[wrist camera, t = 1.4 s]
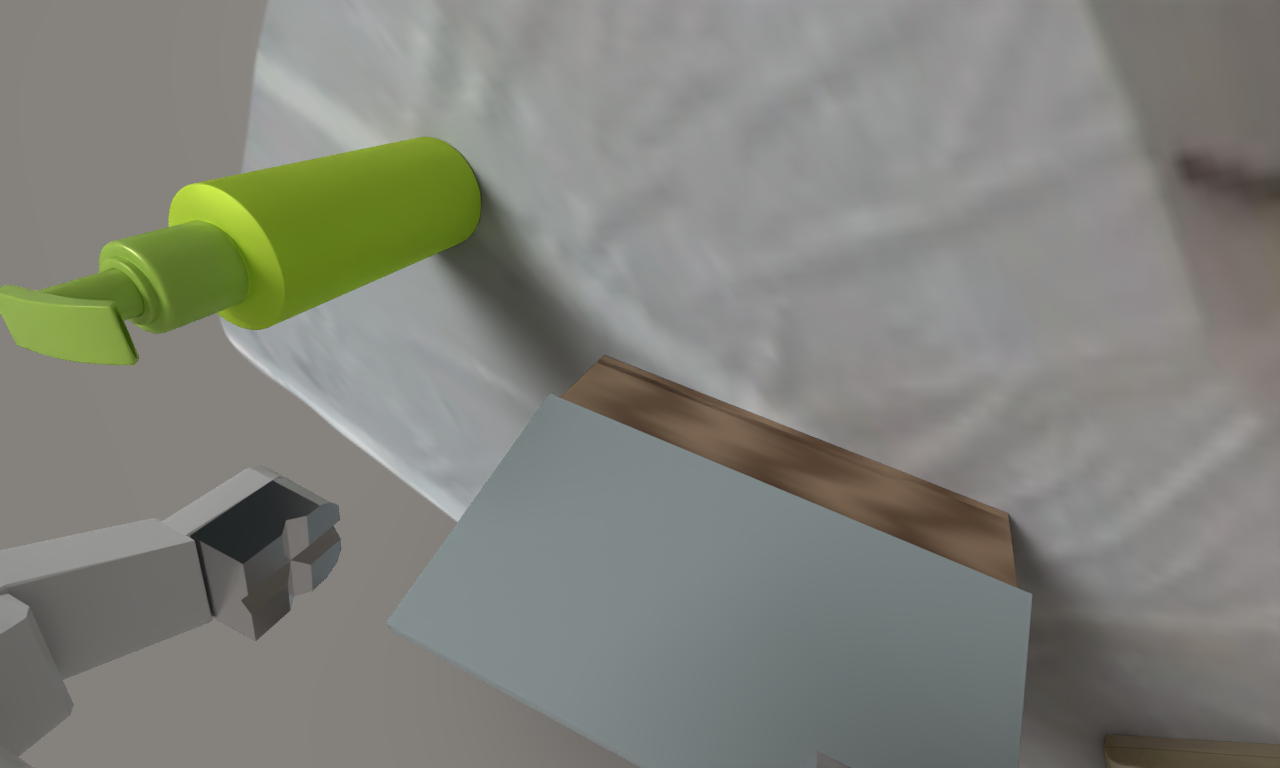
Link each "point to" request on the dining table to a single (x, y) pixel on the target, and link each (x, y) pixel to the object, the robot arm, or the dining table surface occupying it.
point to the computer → (1187, 753)
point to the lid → (715, 613)
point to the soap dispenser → (257, 249)
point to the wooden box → (802, 466)
